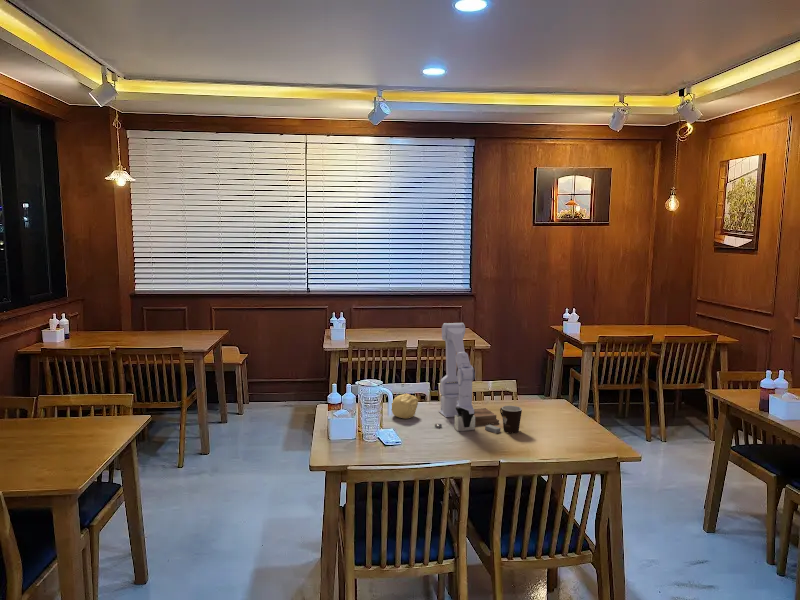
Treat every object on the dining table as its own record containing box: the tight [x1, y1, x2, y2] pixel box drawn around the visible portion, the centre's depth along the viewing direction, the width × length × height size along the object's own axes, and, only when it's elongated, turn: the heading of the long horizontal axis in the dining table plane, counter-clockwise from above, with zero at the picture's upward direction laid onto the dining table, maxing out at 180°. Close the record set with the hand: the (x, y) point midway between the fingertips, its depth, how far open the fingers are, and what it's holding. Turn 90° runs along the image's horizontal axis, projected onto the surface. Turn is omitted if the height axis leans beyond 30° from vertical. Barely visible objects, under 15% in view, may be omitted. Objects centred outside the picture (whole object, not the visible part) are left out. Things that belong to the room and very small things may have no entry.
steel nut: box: [434, 423, 443, 429], centre depth 246 cm, size 3×3×1 cm
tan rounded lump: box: [391, 392, 419, 420], centre depth 260 cm, size 11×12×11 cm
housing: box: [453, 414, 476, 432], centre depth 243 cm, size 4×8×6 cm, turn 107°
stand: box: [473, 407, 500, 427], centre depth 256 cm, size 14×12×4 cm
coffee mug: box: [499, 405, 523, 434], centre depth 243 cm, size 12×9×10 cm
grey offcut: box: [484, 424, 502, 434], centre depth 242 cm, size 6×3×2 cm, turn 42°
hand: (464, 425), depth 243 cm, fingers closed on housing, 4 cm apart
